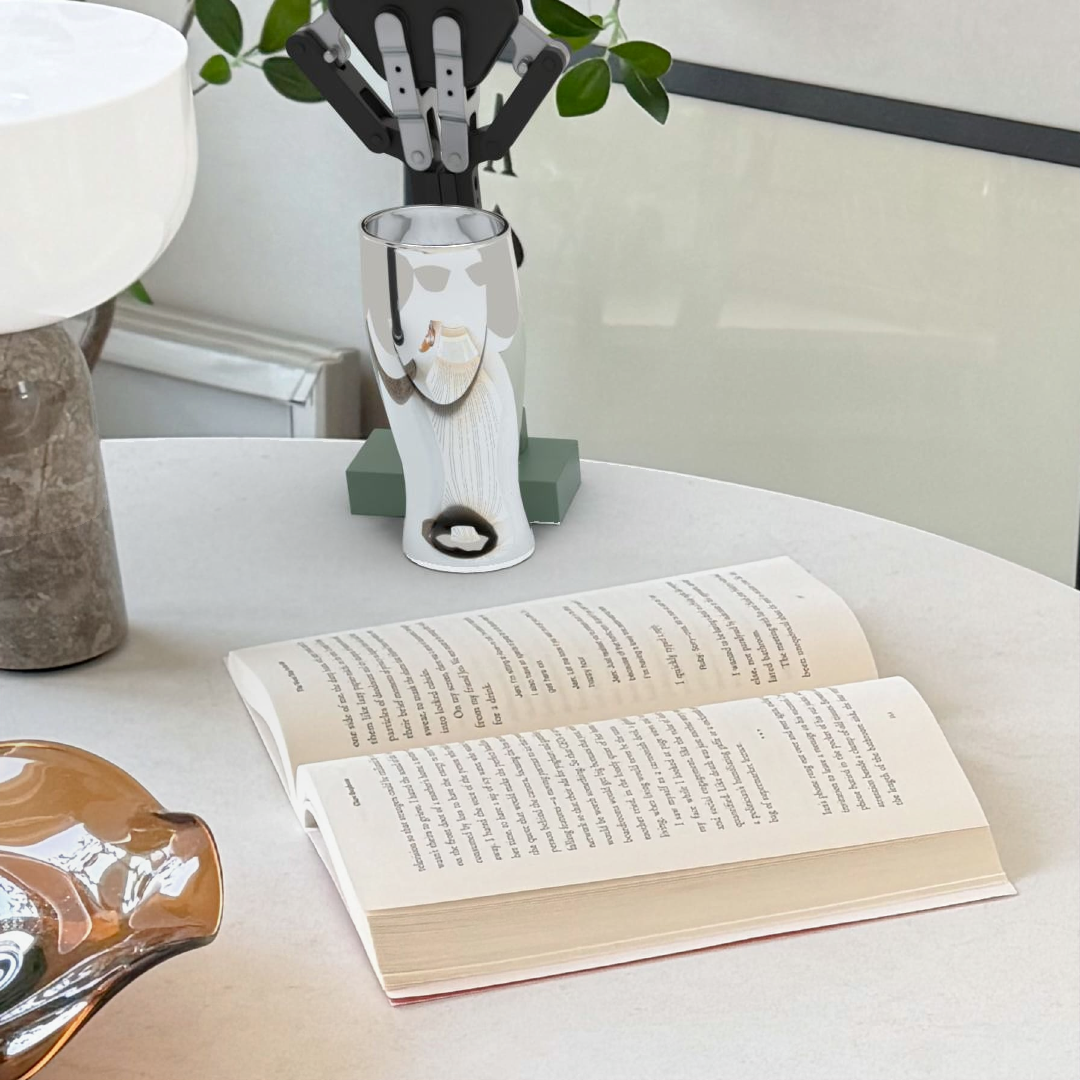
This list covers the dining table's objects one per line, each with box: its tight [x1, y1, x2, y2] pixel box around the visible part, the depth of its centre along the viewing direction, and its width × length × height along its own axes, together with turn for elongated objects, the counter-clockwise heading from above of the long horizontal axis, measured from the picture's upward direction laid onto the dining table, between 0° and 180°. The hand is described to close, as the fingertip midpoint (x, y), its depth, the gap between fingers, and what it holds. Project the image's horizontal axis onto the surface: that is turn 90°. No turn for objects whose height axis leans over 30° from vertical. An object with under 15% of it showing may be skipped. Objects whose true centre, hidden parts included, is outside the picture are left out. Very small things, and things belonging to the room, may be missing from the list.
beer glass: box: [357, 204, 536, 567], centre depth 128 cm, size 7×7×15 cm
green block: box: [344, 406, 582, 523], centre depth 136 cm, size 10×7×4 cm
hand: (453, 248), depth 131 cm, fingers closed
